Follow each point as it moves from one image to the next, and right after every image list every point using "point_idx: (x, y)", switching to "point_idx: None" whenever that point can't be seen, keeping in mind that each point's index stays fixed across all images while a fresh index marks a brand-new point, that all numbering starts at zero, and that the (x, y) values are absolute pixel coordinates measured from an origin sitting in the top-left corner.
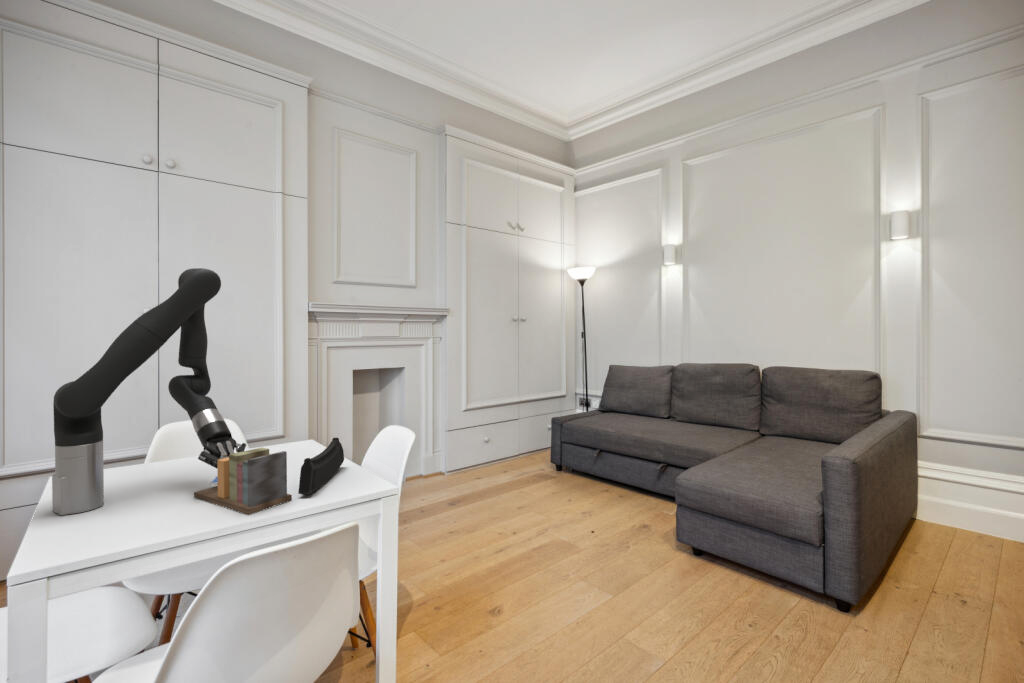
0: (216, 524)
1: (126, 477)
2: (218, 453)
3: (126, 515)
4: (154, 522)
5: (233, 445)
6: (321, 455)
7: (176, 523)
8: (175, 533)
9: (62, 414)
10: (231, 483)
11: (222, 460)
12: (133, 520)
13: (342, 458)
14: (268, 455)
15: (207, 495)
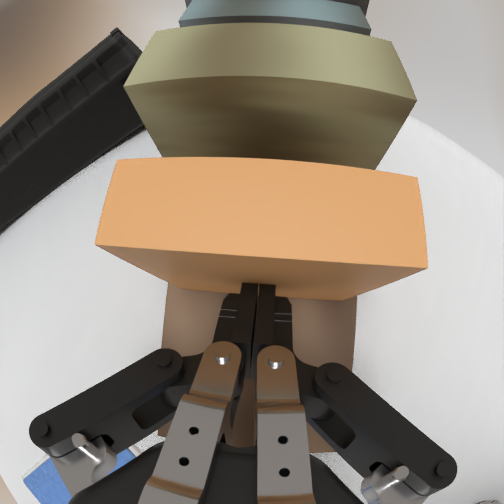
0: (413, 140)
1: None
2: (314, 461)
3: (484, 419)
4: (488, 298)
5: (120, 484)
6: (28, 101)
7: (467, 236)
8: (476, 179)
9: None
10: None
11: (413, 210)
12: (498, 362)
13: None
14: None
15: (346, 363)
